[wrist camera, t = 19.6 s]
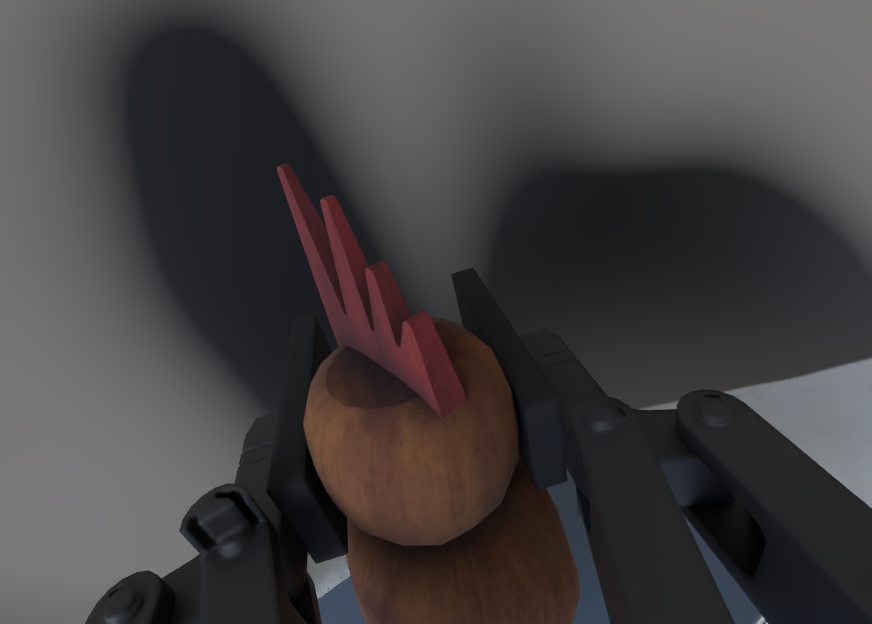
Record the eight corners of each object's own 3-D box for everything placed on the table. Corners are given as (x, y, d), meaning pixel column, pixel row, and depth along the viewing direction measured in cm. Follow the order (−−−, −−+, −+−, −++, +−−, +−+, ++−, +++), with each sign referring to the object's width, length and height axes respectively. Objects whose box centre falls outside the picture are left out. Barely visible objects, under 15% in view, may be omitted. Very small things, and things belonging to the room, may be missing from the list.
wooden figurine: (379, 555, 17) (179, 182, 9) (511, 495, 18) (431, 109, 10) (429, 791, 12) (30, 349, 4) (618, 688, 12) (623, 153, 5)
